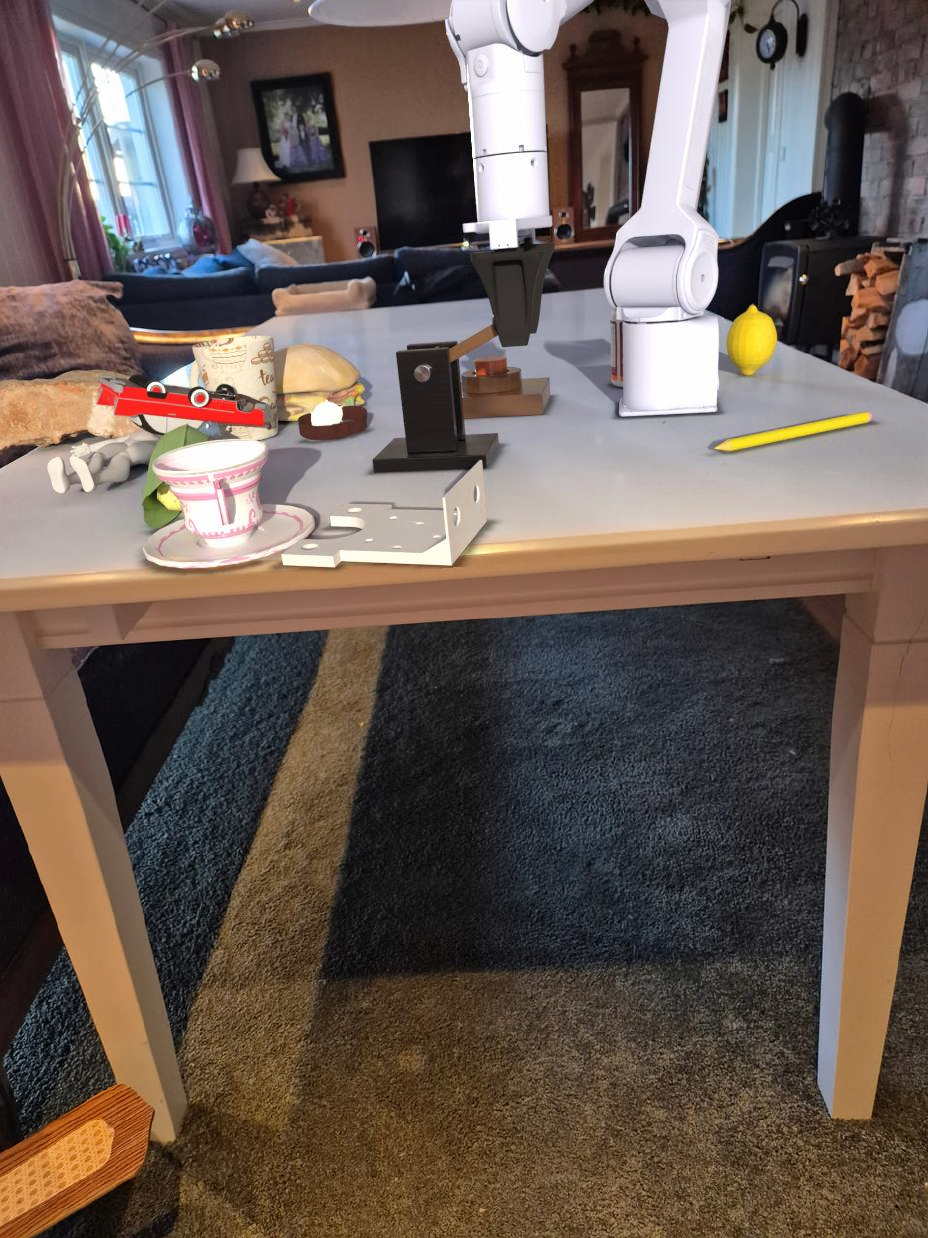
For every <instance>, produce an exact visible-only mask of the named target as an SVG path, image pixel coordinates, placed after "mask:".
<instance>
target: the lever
mask: <svg viewBox="0 0 928 1238" xmlns="http://www.w3.org/2000/svg"><path fill="white" fill-rule="evenodd" d="M497 337H498V333H497V329H496V325H495V321H494V317H493V316H492V318H491V324H489V325H488V326H486V327H485V328H482V329H481V330H479V331H478V332H476V333H474V334H473V335H470V336H469V337H467V338H466V339H464V340H462V341H460V342H459V343H458V344H457V345H456V346H454V347H452V348H450V349H449V352H450V363H451V362H453V361H455V360H456V359H458V358H459V359H460V358H462V357H464V356H465V355H467V354H468V353H470V352H472V351H474V350H475V349H477V348H479V347H481V346H483V345H484V344H485V343H488V342H490V341H491V340H493V339H494V338H497ZM435 348H439V346H437V347H435ZM451 371H452V369H451Z"/></svg>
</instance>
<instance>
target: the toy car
mask: <svg viewBox="0 0 928 1238" xmlns="http://www.w3.org/2000/svg"><path fill="white" fill-rule="evenodd" d="M129 376H130V375H129ZM98 382H100V383H101V387H99V395H98V399H97V402H96V405H107V406H114V415H115V416H126V417H129V418H130V420H131V421H132V422H133V423H134V424H136V425H137V426H138V427H140V428H142V429H143V430H145V431H147V432H149V433H152V434H157V435H161V436H164V434H165V433H167V432H169V431H171V430H174V429H176V428H178V427H180V426H183V425H185V424H188V425H189V426H191V427H193V428H196V429H197V430H199V431H200V430H201V428H202V427H203V426H204V425H205V429H206V430H208V429H210V428H211V424H212V423H216V424H217V423H228V424H241V425H253V426H264V411H263V410H266V408H267V405H266V403H263V402H260V401H258V400H256V399H253V398H251V397H250V396H247V395H243V394H236V393H235V391H234V389H233V387H231V386H230V385H227V384H221V385H219V386H218V387H217V389H216V391H215V392H214V391H211V390H206V389H205V387H203V386H201V385H199V386H196V387H194V388H190V386H189V387H188V386H181V385H173V384H166V383H163V382H161V381H159V380H156V379H151V380H148V378H147V377H145V376H144V375H142V374H139V373H134V374H132V375H131V376H130V378H129V379H123V378H115V377H113V376H111V375H101V374H100V375H99V380H98ZM205 423H206V424H205Z"/></svg>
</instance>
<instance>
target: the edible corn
mask: <svg viewBox="0 0 928 1238" xmlns="http://www.w3.org/2000/svg"><path fill="white" fill-rule="evenodd" d="M205 434H206V433H204V432H202V431H201V430H200V429H199V430H197V429H196V428H193V427H191V426H189V425H188V424H185V425H183V426H180V427H178V428H176V429H174V430H171V431H169V432H167V433H165V434H164V436H163V437H162V438H161V439H160V440H159V441H158V443H157V445H156V447H155V449H154V451H153V453H152V455H151V458H150V462H149V465H148V470H147V475H146V481H145V484H144V486H143V488H142V489H141V493H142V496H143V498H142V501H141V506H143V520H144V522H145V523H146V524H147V525H148V526H149V528H150V529H159V528H160V529H161V528H164V527H165V526H167V524H169V523H170V522H172V521H173V520H174V519H175V518H176V517H178V515H179V514H180V513H182V508H181V505H180V502H179V500H178V499H177V498H176V497H175V496H174V495H173V494H172V493H171V492H170V485H168V484H167V483H165V482H163V481H162V480H160V479H159V478H158V477H157V476H156V475H155V474H154V472H153V469H152V463H153V462H154V460H155V459H156V458H158V457H159V456H161V455H163V454H165V453H167V452H169V451H172V450H175V449H178V448H181V447H184V446H188V445H192V444H197V443H202V442H208V441H209V439H208V436H207V435H208V434H207V435H205Z"/></svg>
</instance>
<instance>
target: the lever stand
mask: <svg viewBox="0 0 928 1238" xmlns="http://www.w3.org/2000/svg"><path fill="white" fill-rule="evenodd" d="M457 344H459V343H458V340H451V341H434V342H421V343H420V342H418V343H409V344H407V345H406V349H404V350H403V349H401V350H397V351H396V352H395V357H396V358H395V359H396V367H397V376H398V384H399V393H400V394H399V395H400V402H401V409H402V410H401V411H402V419H403V426H404V427H403V428H404V436H405V437H394V438H393V439H391V441H390V442H388V444H387V445H385V446H384V447H383V449H381V450H380V452H378V453H377V455H376V456H374V457H373V458H372V459H371V460H372V468H373V473H375V474H379V473H403V472H405V473H406V472H426V471H428V472H429V471H454V470H470V469H471V468H472V467H473V466H474V465H475V464H476V463H477V462H478V461H479V460H482V465H483V469H487V468H488V466H489V464H490V462H491V461H492V459H493V457H494V455H495V454H496V452H497V450H498V449H499V446H500V441H499V433H498V432H493V433H491V432H490V433H469V434H466V425H465V418H464V412H463V400H462V389H461V382H462V379H461V365H460V358H458V359H456V360H455V361H453V362H451V363H450V352H449V349H450V348H452V347H454V346H456V345H457ZM437 346H439V348H435V347H437ZM451 369H452V371H451Z"/></svg>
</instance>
